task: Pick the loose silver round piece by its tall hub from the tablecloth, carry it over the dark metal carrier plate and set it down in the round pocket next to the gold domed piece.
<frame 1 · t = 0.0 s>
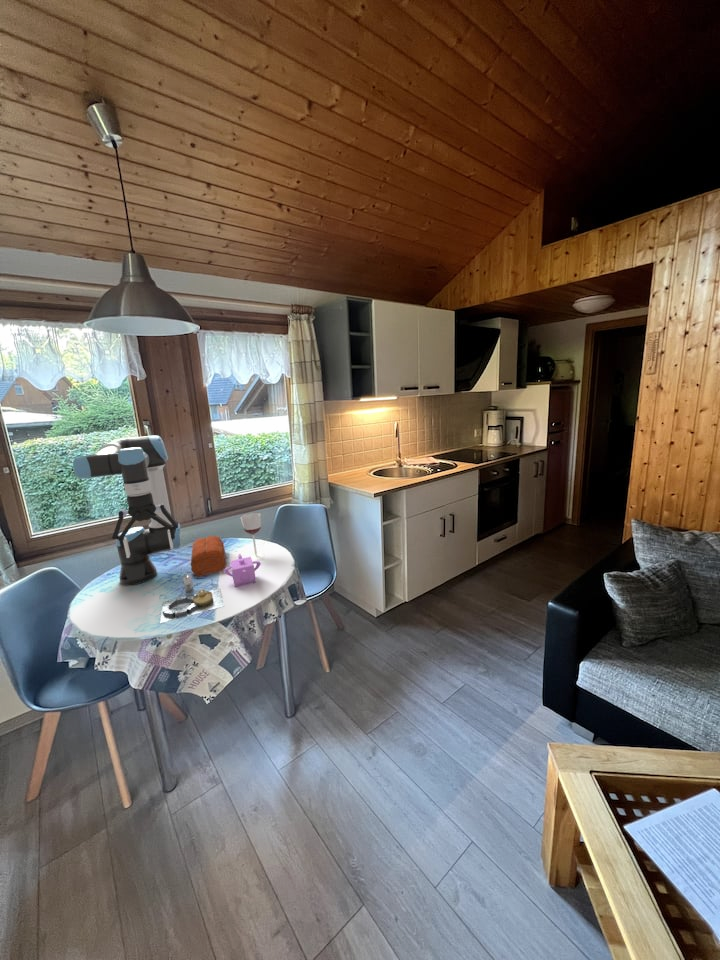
hand: (150, 552, 135), 28 cm above the table, fingers open, 13 cm apart
silver round piece: (190, 594, 161), on the table
carrier plate: (193, 607, 151), on the table
bread: (209, 563, 191), on the table
teapot: (244, 583, 169), on the table
gold domed piece: (203, 601, 152), resting on carrier plate
wineglass: (256, 557, 194), on the table
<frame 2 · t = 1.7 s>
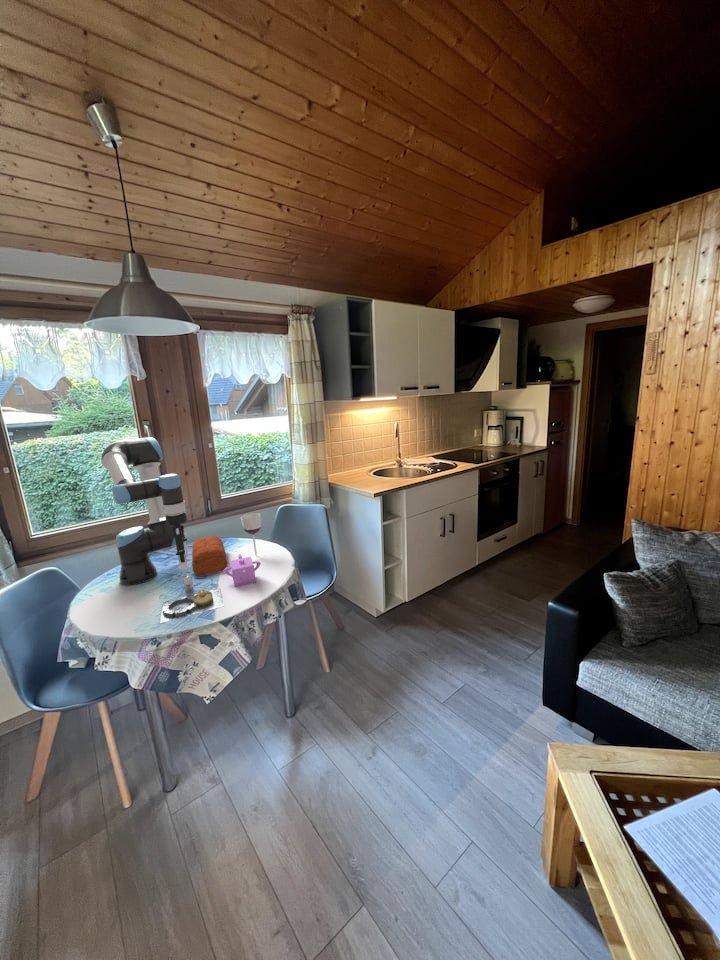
hand: (184, 562, 158), 14 cm above the table, fingers open, 13 cm apart
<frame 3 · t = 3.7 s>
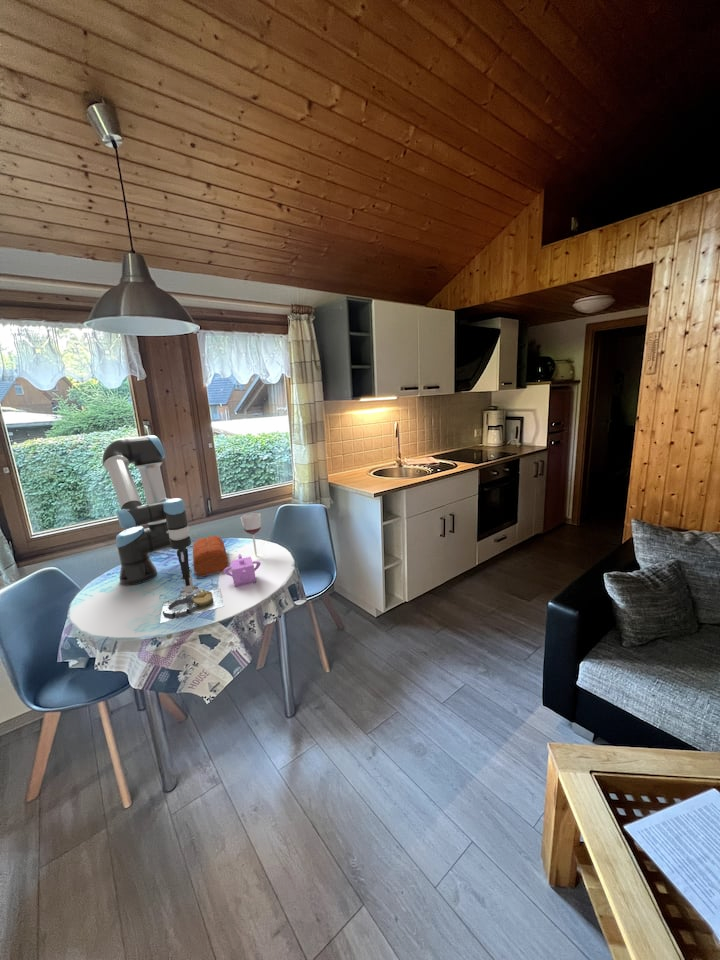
hand: (189, 589, 161), 2 cm above the table, fingers closed on silver round piece, 3 cm apart
silver round piece: (189, 593, 161), on the table, touching gripper
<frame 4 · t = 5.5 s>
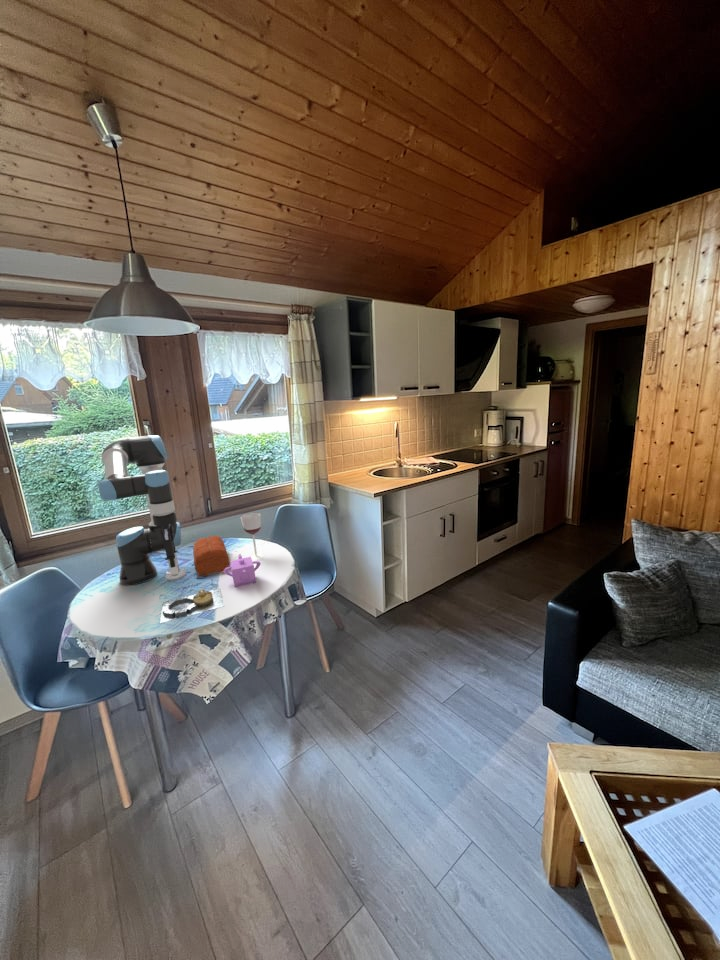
hand: (174, 572, 145), 16 cm above the table, fingers closed on silver round piece, 3 cm apart
silver round piece: (175, 576, 146), point 14 cm above the table, touching gripper
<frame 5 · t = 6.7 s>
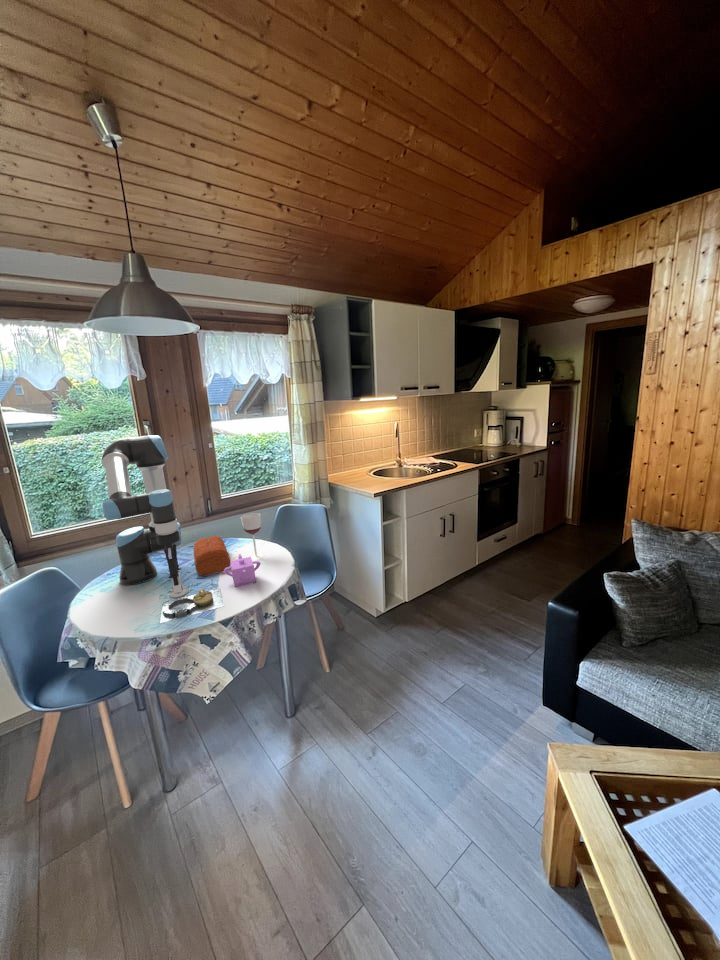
hand: (178, 589, 147), 9 cm above the table, fingers closed on silver round piece, 3 cm apart
silver round piece: (179, 594, 147), point 7 cm above the table, touching gripper
when the fingers open (5 cm above the table, at t = 7.7 s): silver round piece drops 1 cm, resting on carrier plate.
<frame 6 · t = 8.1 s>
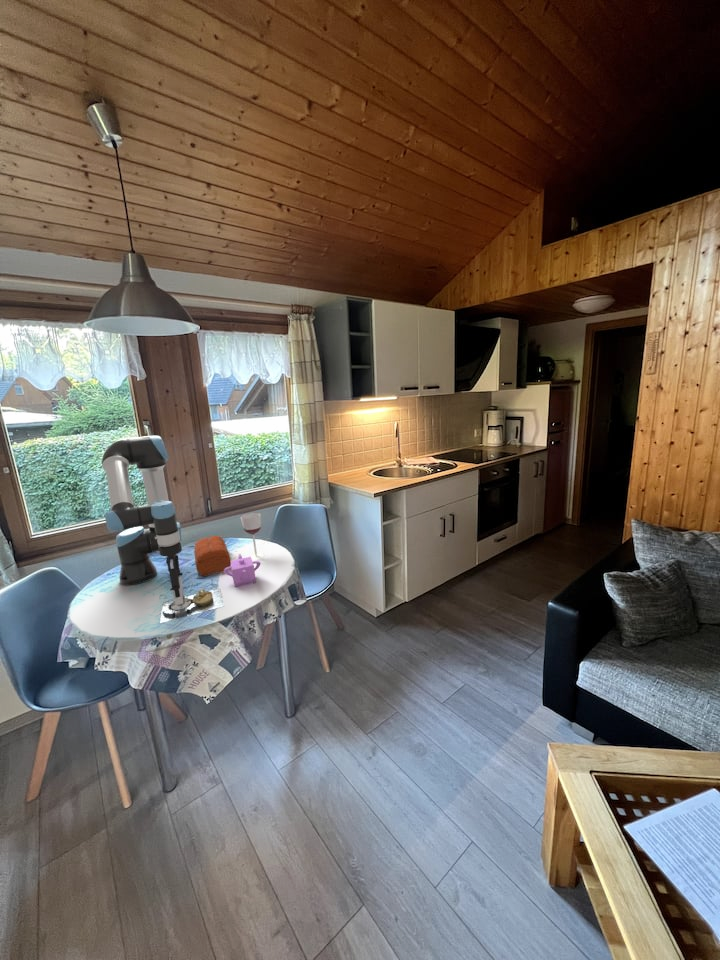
hand: (179, 598, 148), 5 cm above the table, fingers open, 9 cm apart
silver round piece: (181, 607, 149), point 2 cm above the table, touching carrier plate
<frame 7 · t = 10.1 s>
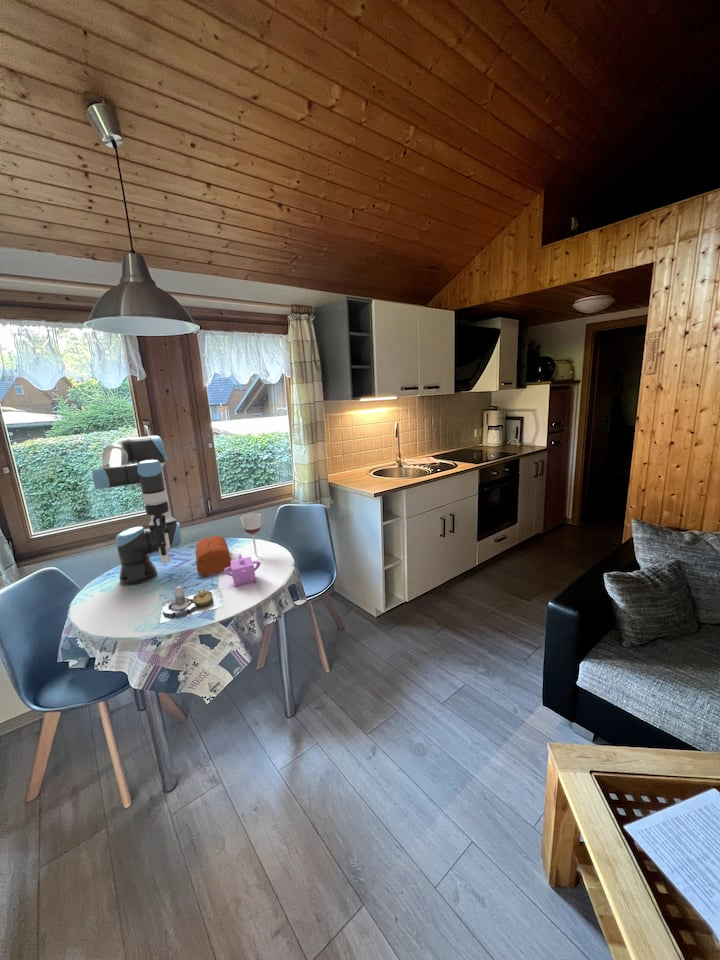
hand: (166, 555, 147), 22 cm above the table, fingers open, 13 cm apart
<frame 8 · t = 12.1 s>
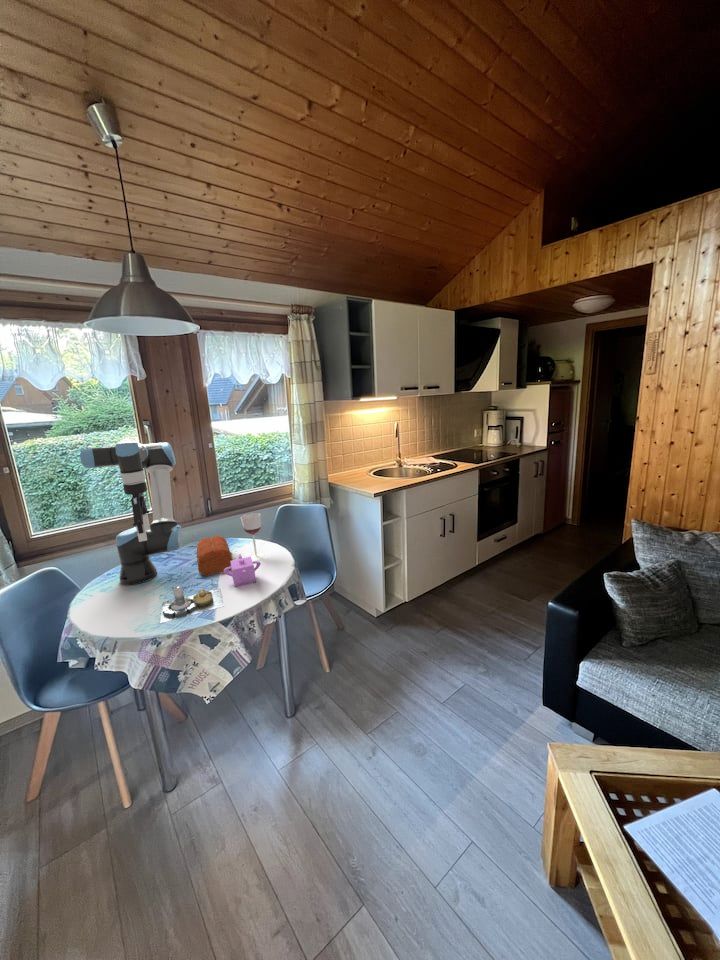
hand: (145, 535, 151), 29 cm above the table, fingers open, 13 cm apart
at the end: silver round piece 0.0 cm from the target spot on the carrier plate, point 1.6 cm above the carrier plate's base; silver round piece tilted 1°; the gripper is holding nothing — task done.
